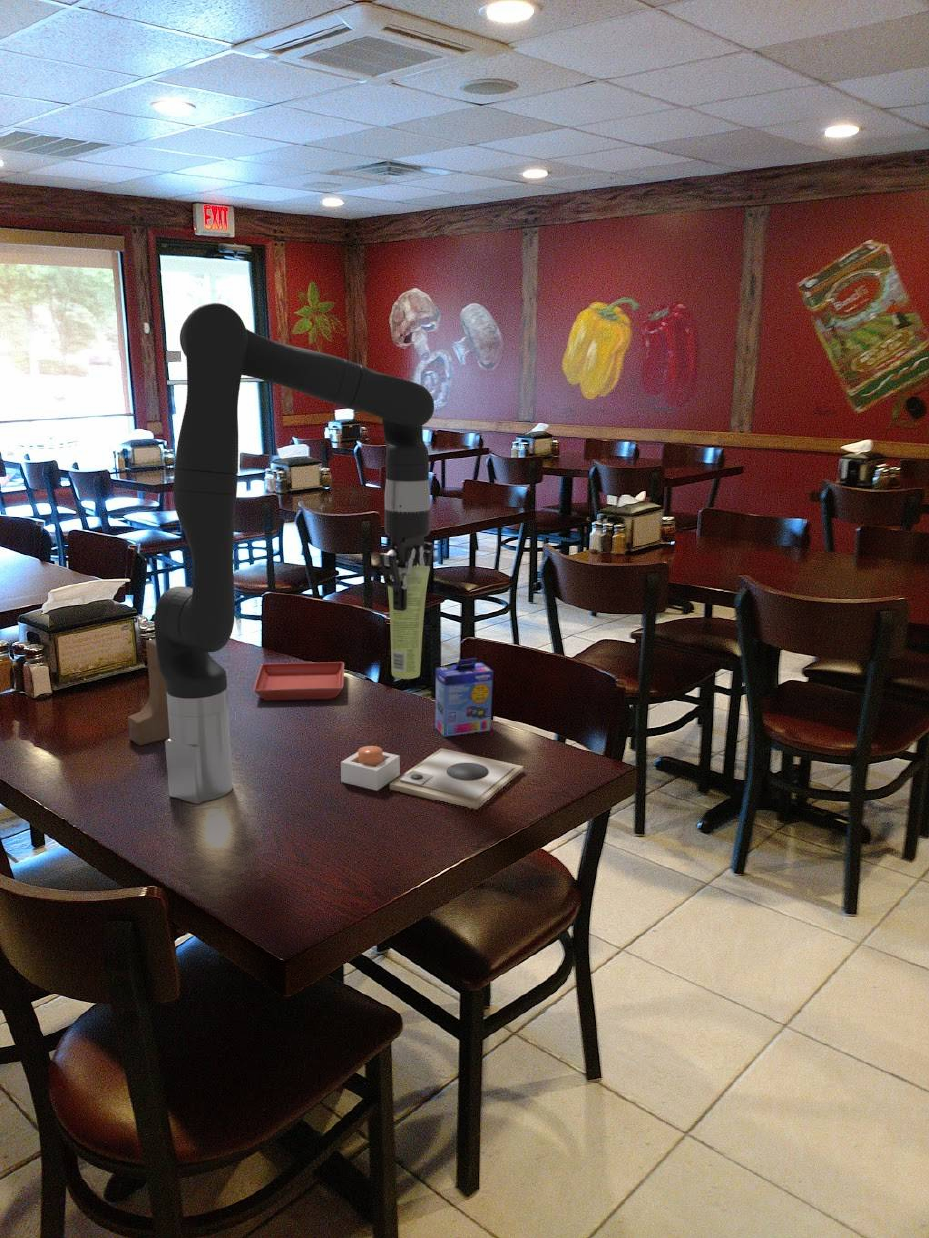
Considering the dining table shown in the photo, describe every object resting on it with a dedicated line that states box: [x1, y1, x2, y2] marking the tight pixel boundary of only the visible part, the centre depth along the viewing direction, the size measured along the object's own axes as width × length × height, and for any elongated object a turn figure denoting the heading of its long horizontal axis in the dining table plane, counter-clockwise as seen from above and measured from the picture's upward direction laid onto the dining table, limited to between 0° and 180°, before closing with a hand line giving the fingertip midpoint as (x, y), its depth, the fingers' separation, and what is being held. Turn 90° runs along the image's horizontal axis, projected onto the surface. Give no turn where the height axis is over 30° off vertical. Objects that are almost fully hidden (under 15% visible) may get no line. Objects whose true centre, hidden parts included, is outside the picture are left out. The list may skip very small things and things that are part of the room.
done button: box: [357, 745, 384, 767], centre depth 161 cm, size 4×4×4 cm
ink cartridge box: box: [434, 657, 494, 738], centre depth 182 cm, size 10×6×14 cm, turn 113°
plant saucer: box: [253, 661, 345, 701], centre depth 205 cm, size 18×18×3 cm
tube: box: [387, 566, 431, 680], centre depth 166 cm, size 6×5×20 cm
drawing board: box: [389, 747, 524, 809], centre depth 161 cm, size 17×16×2 cm
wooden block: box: [127, 638, 170, 746], centre depth 176 cm, size 9×4×18 cm, turn 132°
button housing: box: [340, 751, 401, 791], centre depth 161 cm, size 7×7×4 cm
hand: (407, 606), depth 165 cm, fingers closed on tube, 4 cm apart
